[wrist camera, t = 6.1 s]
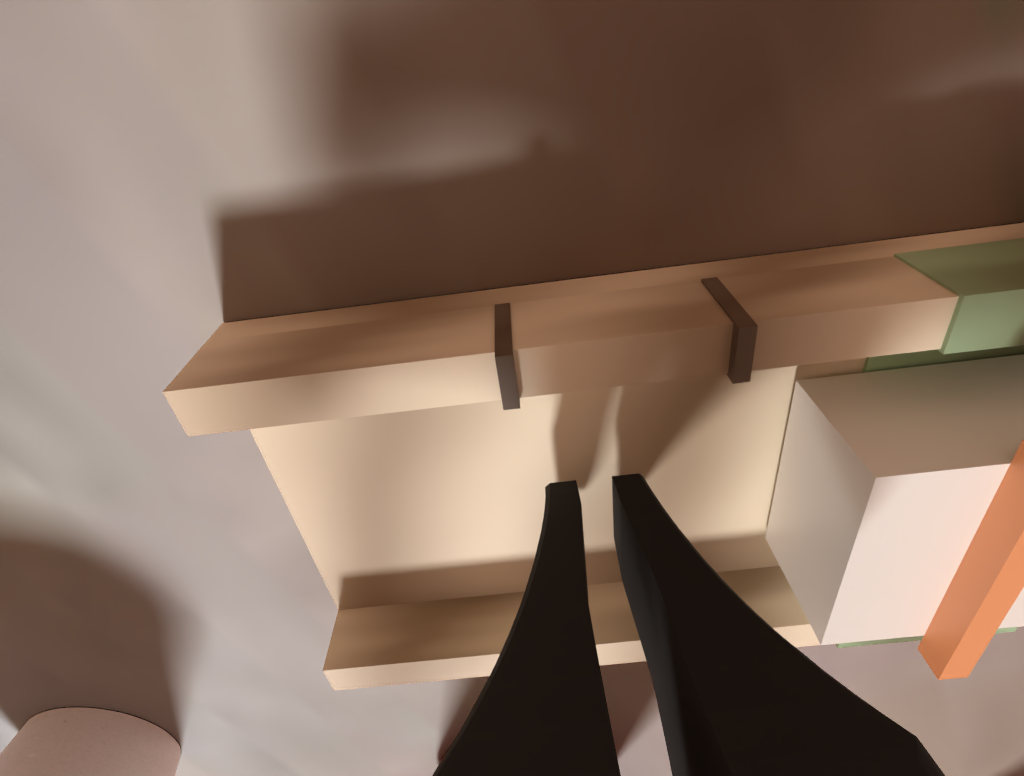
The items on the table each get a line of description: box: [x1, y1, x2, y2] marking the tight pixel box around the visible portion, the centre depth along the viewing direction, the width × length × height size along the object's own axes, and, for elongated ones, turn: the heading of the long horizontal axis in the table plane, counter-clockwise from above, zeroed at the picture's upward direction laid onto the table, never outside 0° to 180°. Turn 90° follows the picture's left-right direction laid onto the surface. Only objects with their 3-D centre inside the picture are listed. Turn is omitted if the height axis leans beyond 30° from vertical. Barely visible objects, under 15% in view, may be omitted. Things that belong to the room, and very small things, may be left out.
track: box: [163, 223, 1024, 690], centre depth 12 cm, size 20×10×5 cm, turn 97°
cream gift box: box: [765, 354, 1024, 680], centre depth 12 cm, size 5×6×4 cm
